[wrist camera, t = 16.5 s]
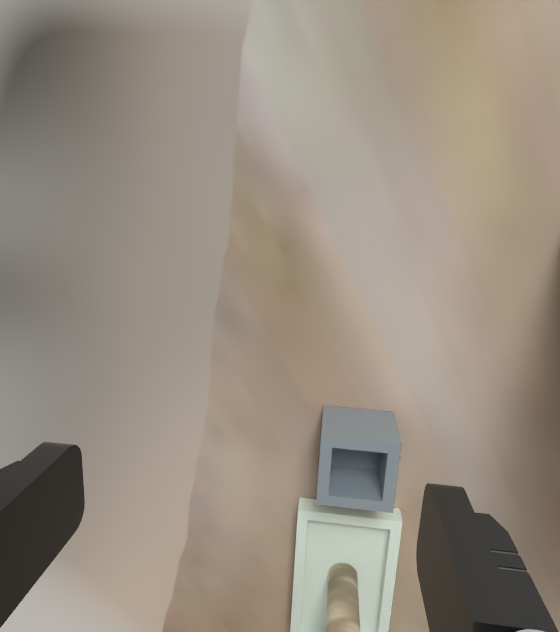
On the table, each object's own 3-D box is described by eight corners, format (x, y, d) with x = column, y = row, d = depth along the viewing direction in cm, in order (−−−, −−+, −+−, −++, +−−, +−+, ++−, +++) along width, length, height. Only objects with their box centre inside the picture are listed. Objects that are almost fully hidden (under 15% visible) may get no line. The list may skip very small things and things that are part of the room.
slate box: (393, 412, 45) (401, 443, 39) (386, 473, 47) (393, 513, 41) (323, 405, 46) (321, 435, 40) (318, 466, 47) (316, 504, 42)
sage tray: (399, 508, 48) (402, 522, 46) (383, 637, 52) (385, 654, 50) (299, 497, 49) (297, 509, 47) (291, 624, 53) (289, 641, 51)
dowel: (358, 564, 49) (365, 692, 36) (356, 589, 49) (362, 722, 37) (328, 561, 49) (325, 686, 37) (327, 585, 50) (323, 716, 37)
